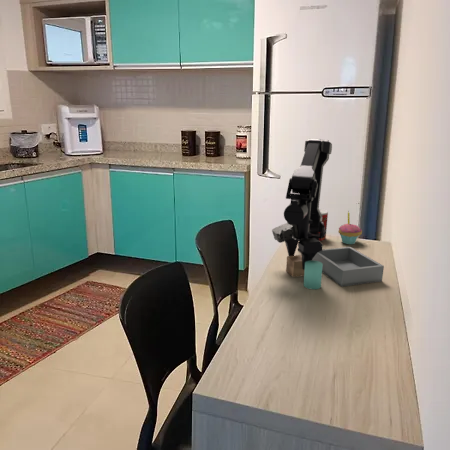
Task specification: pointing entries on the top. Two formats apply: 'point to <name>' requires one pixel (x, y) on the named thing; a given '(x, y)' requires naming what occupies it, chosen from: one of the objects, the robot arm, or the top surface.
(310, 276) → the teal capsule
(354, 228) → the cupcake
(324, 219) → the canned food
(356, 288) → the top surface
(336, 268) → the grey rectangular tray
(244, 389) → the top surface
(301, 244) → the robot arm
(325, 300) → the top surface
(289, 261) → the tan wooden cube
